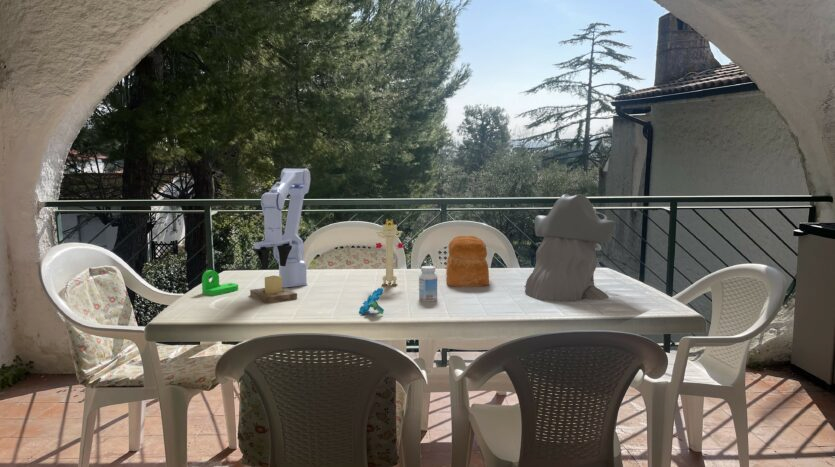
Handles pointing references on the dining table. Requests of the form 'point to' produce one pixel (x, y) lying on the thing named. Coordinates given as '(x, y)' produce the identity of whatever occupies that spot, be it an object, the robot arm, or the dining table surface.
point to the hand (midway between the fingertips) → (274, 267)
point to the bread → (467, 262)
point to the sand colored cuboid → (273, 284)
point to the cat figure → (389, 249)
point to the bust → (568, 251)
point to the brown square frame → (273, 295)
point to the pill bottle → (428, 284)
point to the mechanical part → (215, 284)
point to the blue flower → (372, 302)
